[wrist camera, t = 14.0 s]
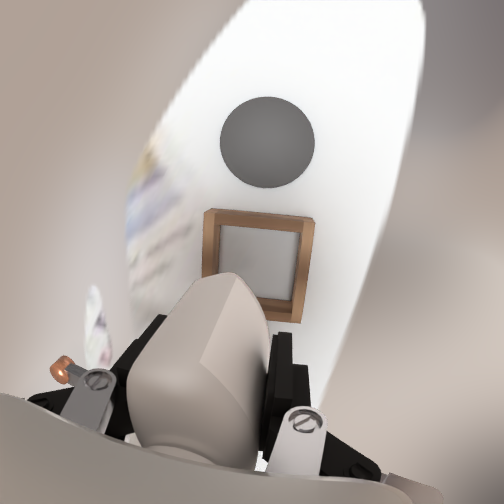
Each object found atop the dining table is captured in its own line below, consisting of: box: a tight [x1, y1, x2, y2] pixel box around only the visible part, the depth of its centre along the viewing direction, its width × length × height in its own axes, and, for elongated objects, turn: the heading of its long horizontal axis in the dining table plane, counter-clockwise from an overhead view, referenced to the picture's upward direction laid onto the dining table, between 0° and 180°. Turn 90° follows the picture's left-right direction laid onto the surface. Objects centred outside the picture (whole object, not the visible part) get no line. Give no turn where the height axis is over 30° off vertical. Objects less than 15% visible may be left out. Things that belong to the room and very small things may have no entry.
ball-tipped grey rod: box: [50, 356, 88, 387], centre depth 21 cm, size 18×2×2 cm, turn 78°
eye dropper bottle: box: [127, 272, 270, 471], centre depth 9 cm, size 4×6×12 cm
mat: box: [220, 97, 315, 188], centre depth 27 cm, size 9×9×1 cm
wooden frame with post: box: [202, 208, 315, 323], centre depth 26 cm, size 16×10×13 cm, turn 176°
